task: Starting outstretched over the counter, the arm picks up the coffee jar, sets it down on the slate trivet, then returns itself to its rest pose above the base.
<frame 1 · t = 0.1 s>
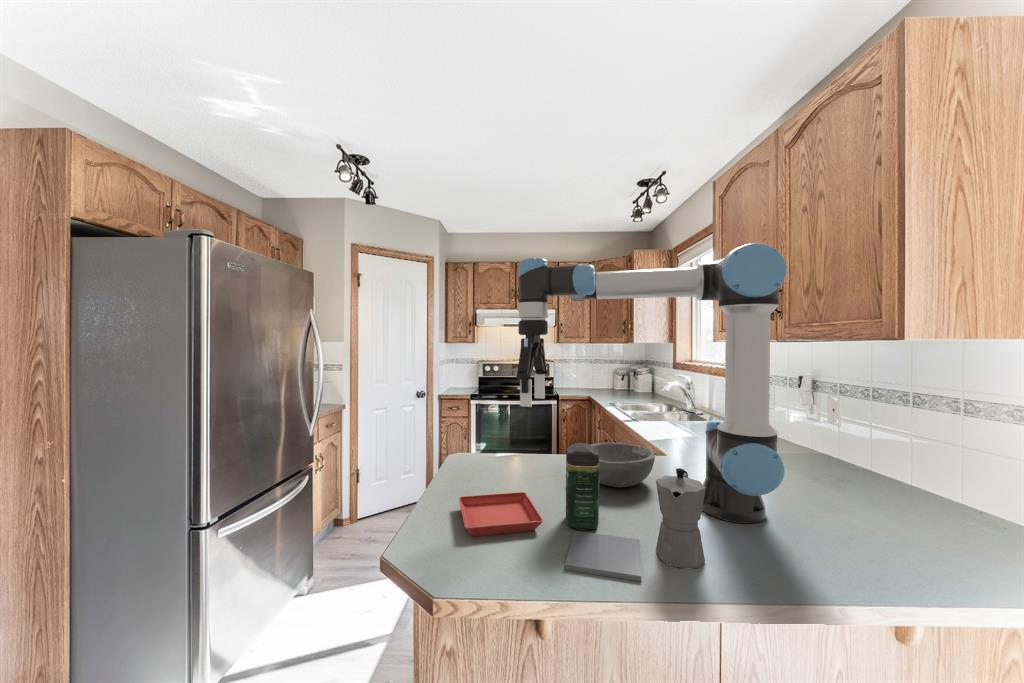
hand: (533, 402, 105), 28 cm above the counter, fingers open, 13 cm apart
coffee jar: (582, 523, 98), on the counter
slate trivet: (604, 556, 83), on the counter
coffeepot: (680, 555, 83), on the counter
plant saucer: (498, 521, 99), on the counter
bowl: (615, 482, 125), on the counter
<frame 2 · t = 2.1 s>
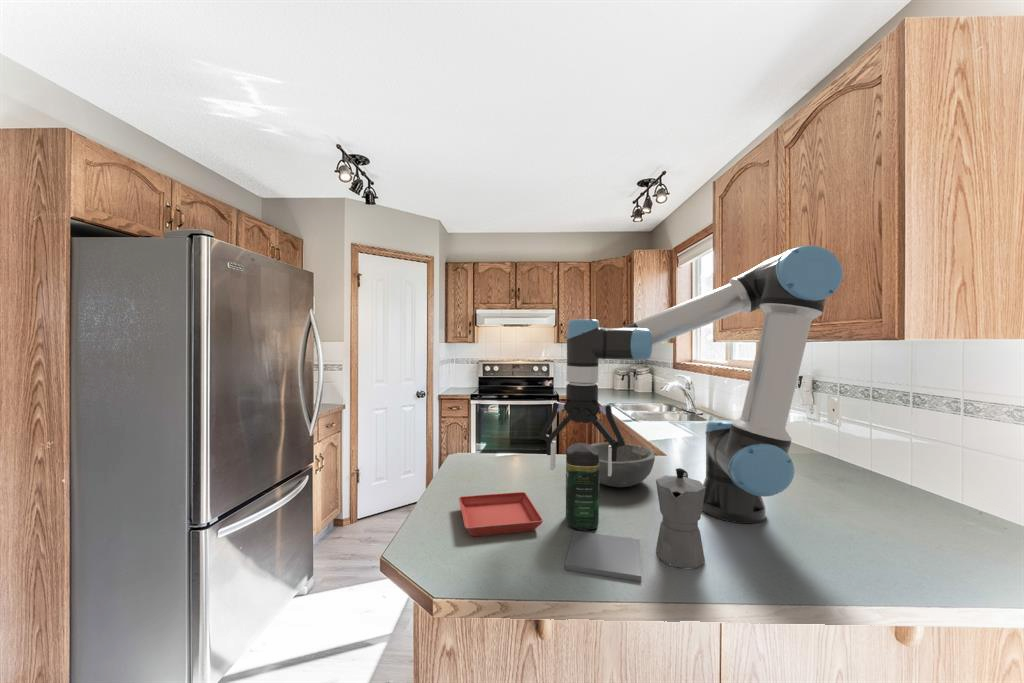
hand: (580, 471, 98), 12 cm above the counter, fingers open, 13 cm apart
nothing on the counter moved.
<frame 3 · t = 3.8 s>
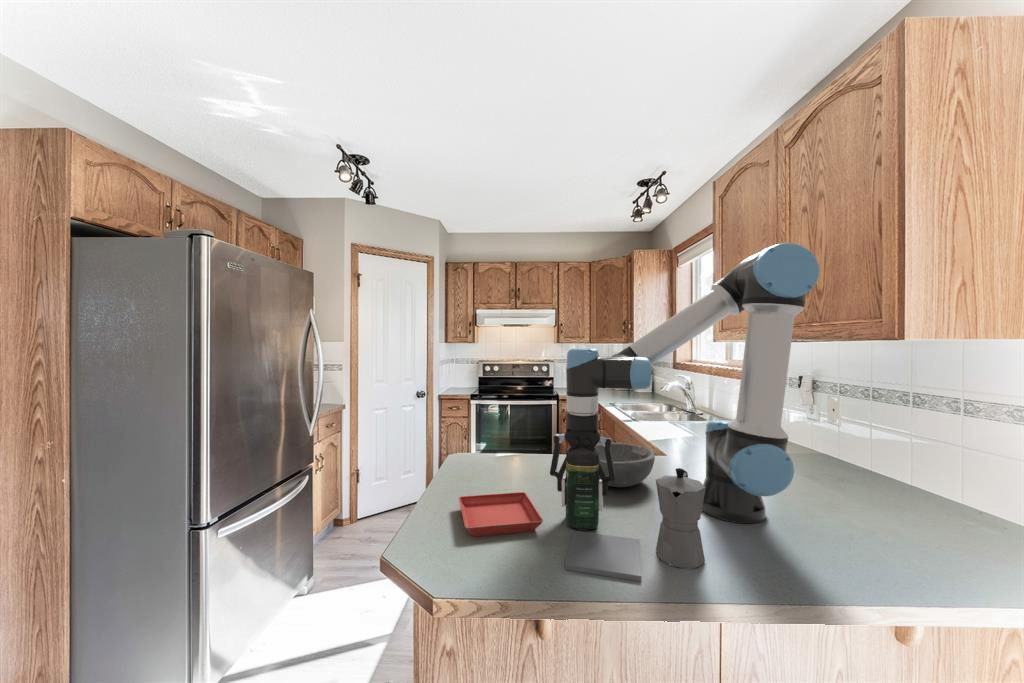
hand: (582, 506, 98), 4 cm above the counter, fingers closed on coffee jar, 8 cm apart
coffee jar: (582, 523, 98), on the counter, touching gripper
everything else where it was.
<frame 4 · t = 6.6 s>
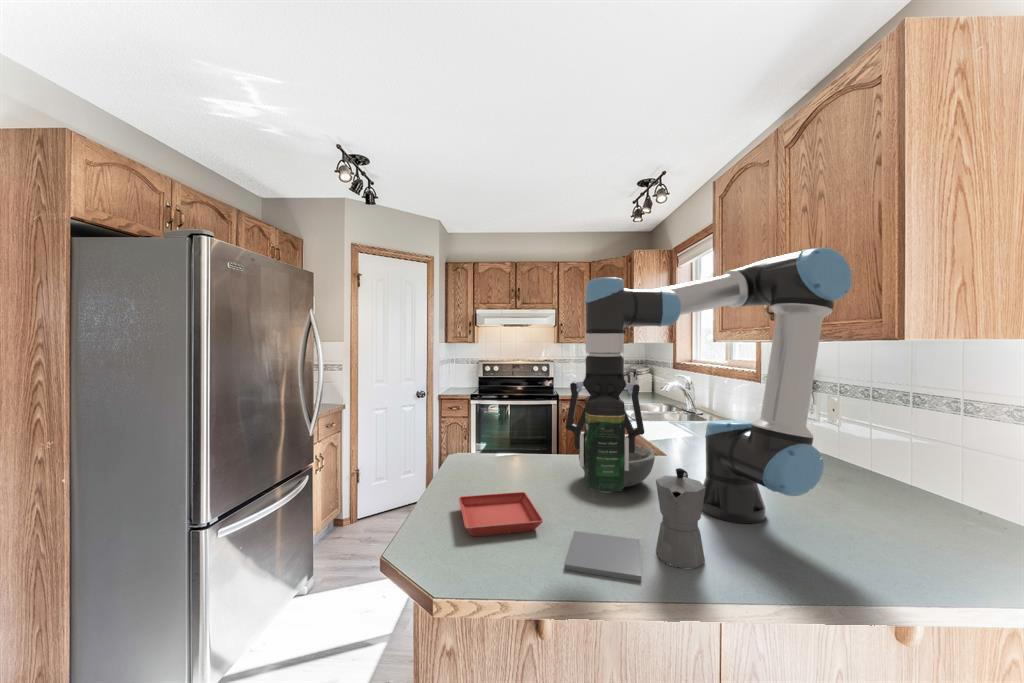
hand: (604, 466, 82), 18 cm above the counter, fingers closed on coffee jar, 8 cm apart
coffee jar: (604, 486, 82), point 14 cm above the counter, touching gripper
everything else where it was.
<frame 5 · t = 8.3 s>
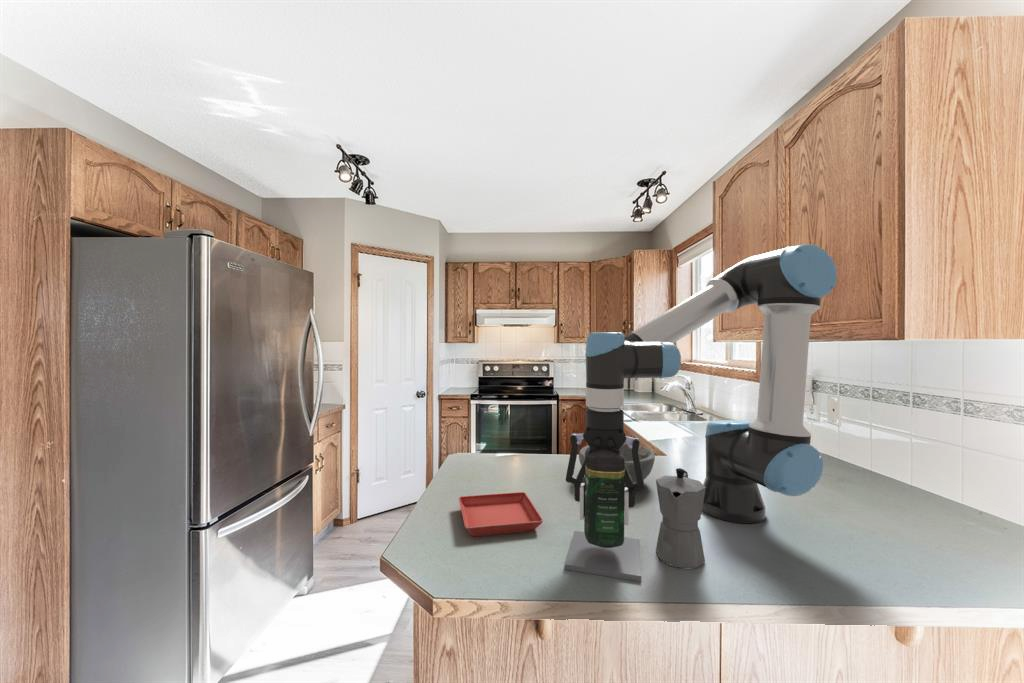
hand: (604, 519, 83), 8 cm above the counter, fingers closed on coffee jar, 8 cm apart
coffee jar: (604, 538, 83), point 4 cm above the counter, touching gripper
everything else where it was.
when the fingers open (6 cm above the counter, at t = 9.5 s): coffee jar drops 1 cm, resting on slate trivet.
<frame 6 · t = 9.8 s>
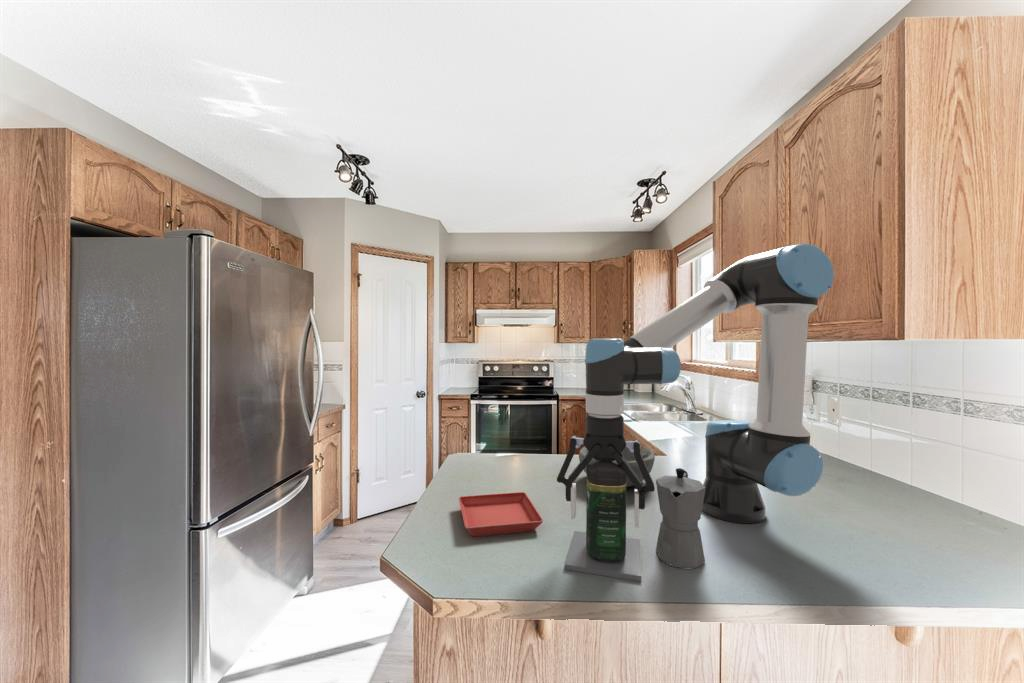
hand: (604, 520, 83), 7 cm above the counter, fingers open, 12 cm apart
coffee jar: (605, 552, 83), point 1 cm above the counter, touching slate trivet
everything else where it was.
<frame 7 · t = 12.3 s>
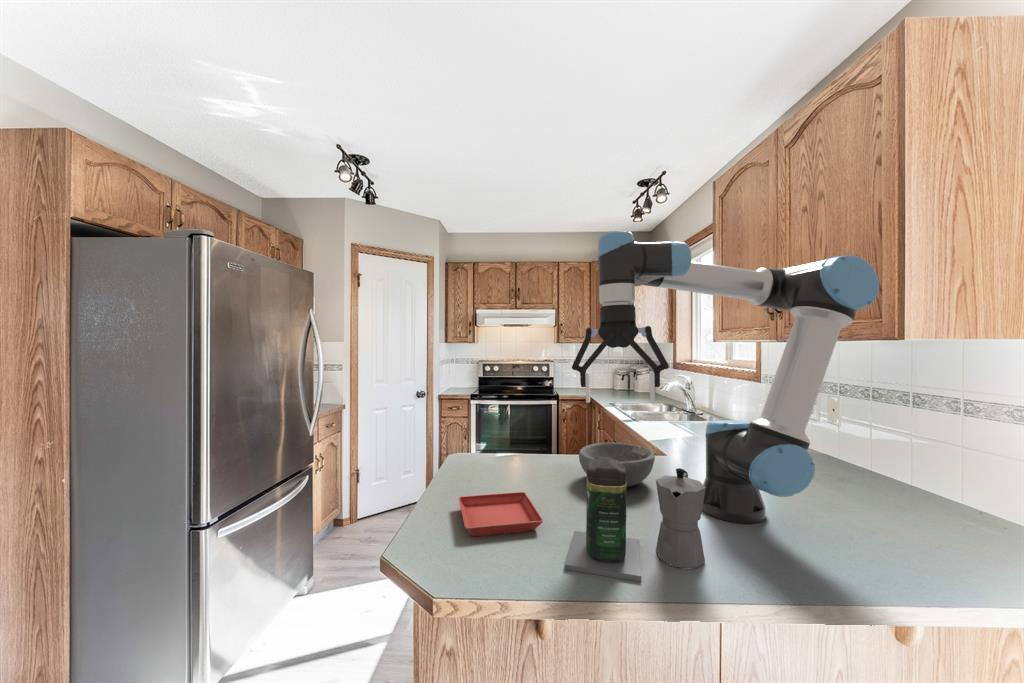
hand: (619, 402, 89), 30 cm above the counter, fingers open, 13 cm apart
nothing on the counter moved.
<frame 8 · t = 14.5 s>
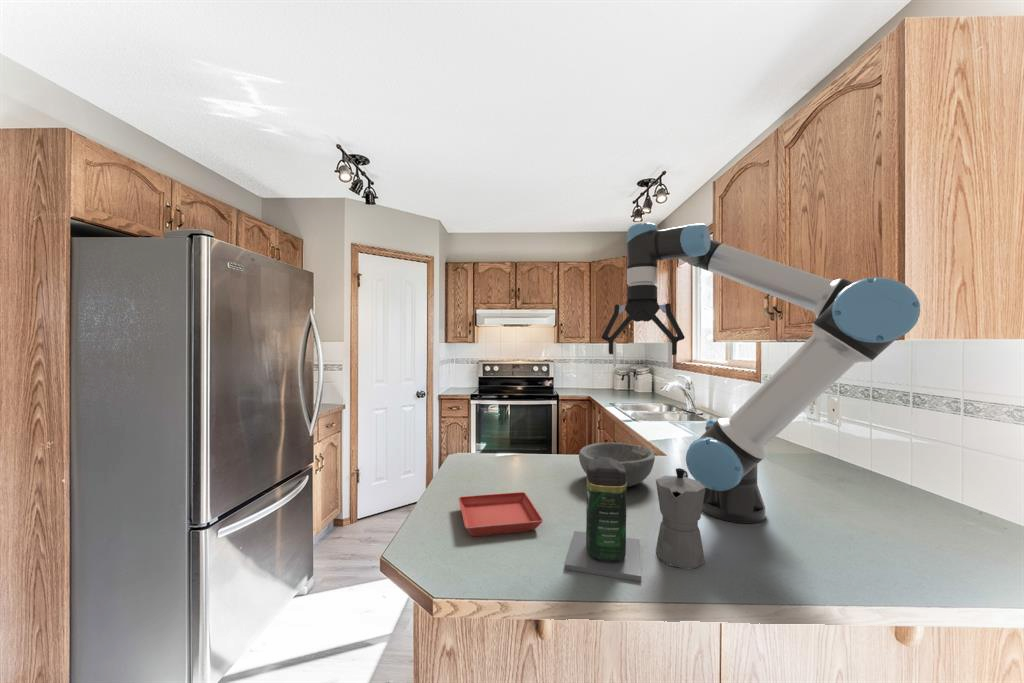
hand: (641, 367, 105), 37 cm above the counter, fingers open, 13 cm apart
nothing on the counter moved.
at the end: coffee jar inside the target area on the slate trivet (0.3 cm from its centre), point 0.8 cm above the slate trivet's base; coffee jar tilted 0°; the gripper is holding nothing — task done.
